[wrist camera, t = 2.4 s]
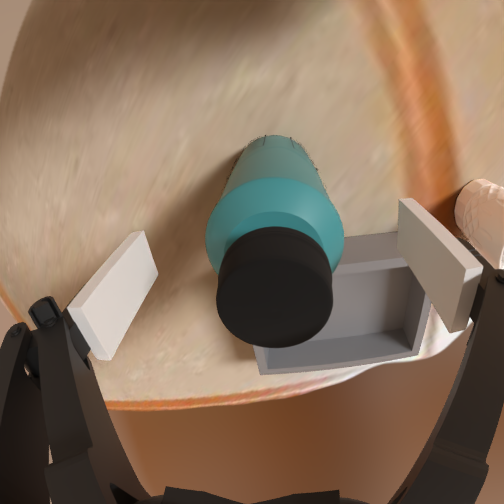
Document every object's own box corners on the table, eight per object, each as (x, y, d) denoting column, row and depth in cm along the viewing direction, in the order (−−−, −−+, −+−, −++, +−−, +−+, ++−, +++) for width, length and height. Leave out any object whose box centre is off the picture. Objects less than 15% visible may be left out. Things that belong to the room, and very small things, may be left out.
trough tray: (242, 248, 31) (236, 275, 27) (420, 229, 29) (440, 252, 24) (262, 344, 38) (260, 375, 34) (406, 327, 35) (418, 355, 31)
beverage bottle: (231, 138, 26) (138, 240, 9) (305, 124, 25) (371, 199, 7) (247, 205, 29) (204, 381, 12) (317, 193, 28) (371, 363, 10)
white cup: (502, 224, 27) (550, 268, 18) (454, 248, 29) (497, 301, 21) (496, 164, 24) (555, 197, 15) (443, 186, 26) (498, 228, 17)
